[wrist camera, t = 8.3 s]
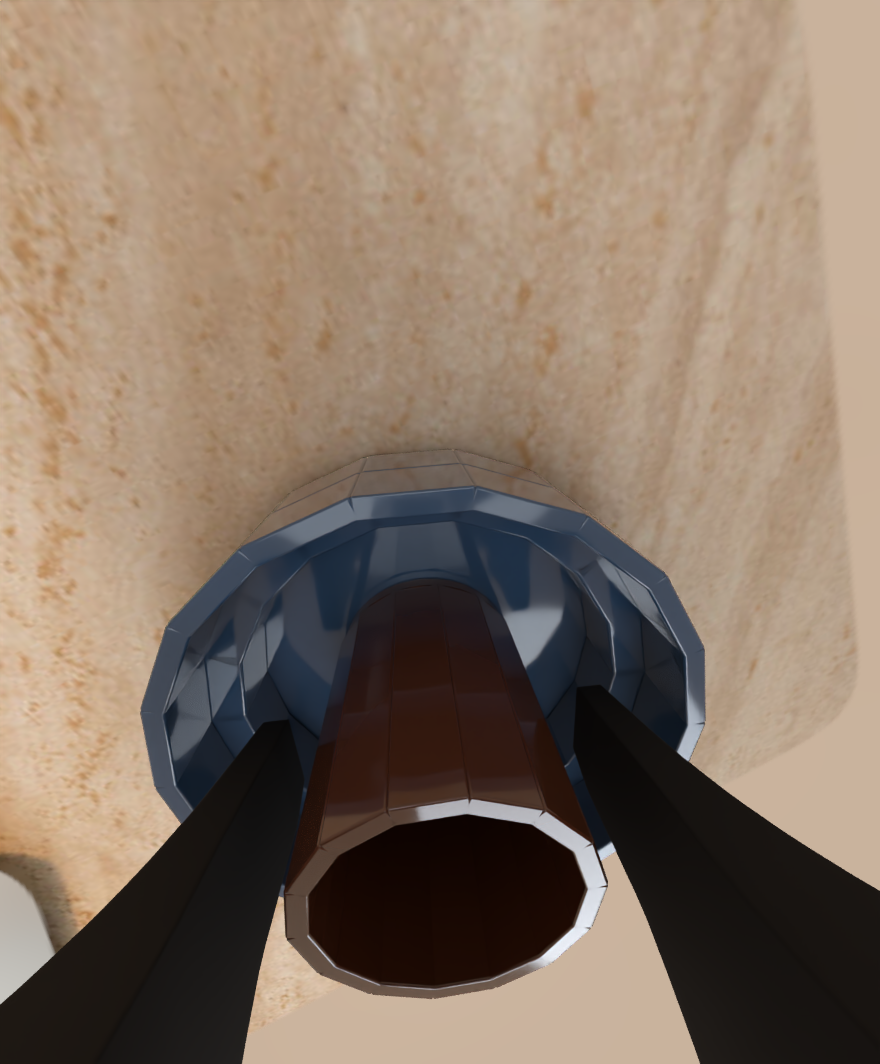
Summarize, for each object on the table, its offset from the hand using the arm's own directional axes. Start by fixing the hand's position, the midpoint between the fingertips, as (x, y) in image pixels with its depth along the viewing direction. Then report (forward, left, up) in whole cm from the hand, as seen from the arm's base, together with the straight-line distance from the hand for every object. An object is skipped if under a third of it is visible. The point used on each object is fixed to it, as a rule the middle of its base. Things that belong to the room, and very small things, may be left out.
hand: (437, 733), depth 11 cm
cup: (0, 0, -3) cm, 3 cm away
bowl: (0, 0, -4) cm, 4 cm away
